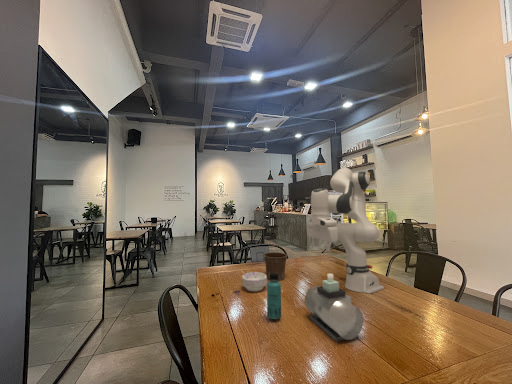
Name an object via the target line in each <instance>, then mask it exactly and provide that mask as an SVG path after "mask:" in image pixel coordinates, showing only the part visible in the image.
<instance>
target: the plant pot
mask: <svg viewBox="0 0 512 384" xmlns="http://www.w3.org/2000/svg"><path fill="white" fill-rule="evenodd" d="M263 256H264V262H265V270H266V271H265V273H266V274H265V275H266V276H267V280H269V281H270V280H271V279H269V277H270V274H271V273H277V274H278V277H279V279H277V281H279V282H280V281H283V280H284V279H285V275H286V274H285V271H286V262H287V257H288V254H287V253H284V252H277V251H274V252H273V251H272V252H266V253H263Z"/></svg>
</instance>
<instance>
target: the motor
mask: <svg viewBox="0 0 512 384" xmlns="http://www.w3.org/2000/svg"><path fill="white" fill-rule="evenodd" d="M304 303H305V304H304V305H305V307H306V309H307V310H308V311H309V312H310V313H312V314H309V319H310V320H311V321H312V322H313V323H314V324H316V326H318V327H319V328H320V329H321V330H322V331H324V332H325V334H327V335H328V336H329V337H330V338H331V339H332V340H334V342H336V343H339V342H342V341H345V340H347V341H348V340H349V341H350V340H354V339H355V338H357V337H359V334H360V333H361V332H362V329H363V326H364V316H363V313H362V311H361V309H360V308H358V306H356V305H354V304H352V296H351V295H349V294H346V290H345V289H343V288H341V287H339V291H336V292H330V293H329V292H327V291H325V290H324V289H323V288H322V285H314V286H312V287H310V288H309V289H308V290H307V292H306V294H305V297H304Z"/></svg>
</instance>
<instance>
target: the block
mask: <svg viewBox="0 0 512 384" xmlns="http://www.w3.org/2000/svg"><path fill="white" fill-rule="evenodd" d="M326 274H327V279H324V280H323V279H322V281H321V282H322V285H321V286H322V288H323V289H324V290H325V291H327V292H329V293H330V292H336V291H339V288H340V282H339V281H337V280H334V274H333V273H331V272H330V273H328V272H327V273H326Z"/></svg>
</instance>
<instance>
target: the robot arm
mask: <svg viewBox="0 0 512 384" xmlns="http://www.w3.org/2000/svg"><path fill="white" fill-rule="evenodd" d="M370 181H371V179H370V175H369V174H368V173H367V172H366V171H358V172H353V171H352V170H351V169H350V168H348V167H341V168H340V169H338V170H337V171H335V173H334V174H333V175H332V177H331V179H330V182H329V184H330V188H331V189H332V190H333V191H334V192H336V193H338V194H329V192H328V189H327V188H326V187H325V188H324V187H323V188H322V187H320V188H314V189H313V190H312V191H311V196H310V208H311V214H310V215H311V219H309V220H308V223H307V228H306V229H307V230H306V232H307V233H306V234H307V236H308V237H309V238H311V241H312V242H313V247H314V248H317V247H319V243H318V241H317V240H320V241H324V242H326V243H325V244H326V246H324V247H325V248H324V249H325V250H326V251H329V252H330V251H331V246H332V244H333V243H337V242H338V241H339V242H340V243H341V244H342V245H343V247H344V250H345V255H346V263H345V266H346V267H345V269H346V277H345V278H346V279H345V283H344V287H345V288H346V289H347V290H349V291H353V292H356V293H365V294H372V293H375V292H379V291H382V290H384V289H385V287H384V286H383V285H382V284H380V280H379V277H378V276H376V275H375V274H374V273H373V272H372V271H370V269H371V270H372V269H373V265H371V264H367V261H368V260H367V252H366V251H365V249H363V247H360V246H358V245H357V244H356V242H359V243H360V242H361V243H363V242H364V243H372V242H376V241H378V239H379V238H380V230H379V228H378V226H377V225H375V224H374V223H372V222H371V220H370V219H369V218H368V215H367V211H366V210H367V208H366V195H365V191H366V190H367V188H369V186H370V183H371V182H370ZM330 214H344V215H347V217H348V218H350V219H351V220H353V221H355V223H354V222H341V223H338V221H337V220H335V219H334V218H332V217H331V216H330Z"/></svg>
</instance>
